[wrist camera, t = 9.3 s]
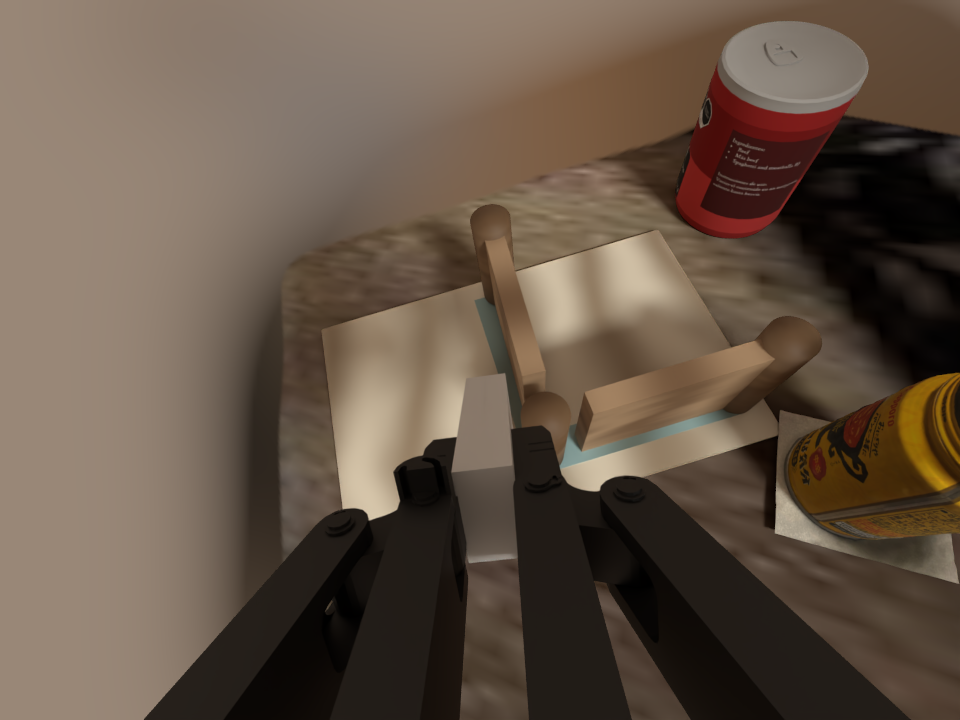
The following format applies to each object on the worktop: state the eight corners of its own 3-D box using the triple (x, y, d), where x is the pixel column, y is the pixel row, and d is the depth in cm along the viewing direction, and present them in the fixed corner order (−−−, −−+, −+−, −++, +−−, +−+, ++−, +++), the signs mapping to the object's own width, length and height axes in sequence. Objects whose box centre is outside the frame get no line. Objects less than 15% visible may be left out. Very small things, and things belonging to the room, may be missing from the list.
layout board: (656, 233, 35) (658, 229, 34) (781, 434, 27) (785, 432, 27) (323, 331, 34) (321, 328, 34) (352, 565, 27) (349, 565, 26)
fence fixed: (531, 477, 27) (529, 443, 21) (519, 441, 28) (514, 397, 22) (761, 407, 27) (833, 351, 21) (741, 374, 29) (802, 310, 22)
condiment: (777, 410, 27) (943, 310, 16) (940, 447, 25) (1246, 362, 15) (772, 533, 25) (965, 511, 14) (953, 583, 23) (1340, 604, 12)
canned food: (727, 154, 38) (793, 4, 28) (800, 214, 34) (906, 65, 24) (650, 192, 37) (691, 51, 27) (718, 257, 33) (793, 121, 23)
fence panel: (553, 414, 28) (557, 363, 22) (516, 423, 29) (509, 374, 22) (511, 275, 34) (505, 200, 27) (481, 283, 34) (466, 209, 27)
